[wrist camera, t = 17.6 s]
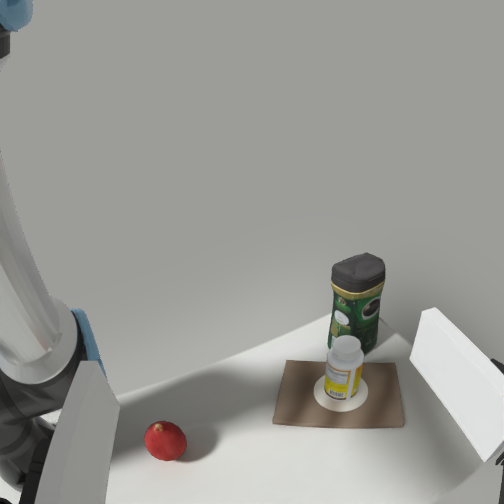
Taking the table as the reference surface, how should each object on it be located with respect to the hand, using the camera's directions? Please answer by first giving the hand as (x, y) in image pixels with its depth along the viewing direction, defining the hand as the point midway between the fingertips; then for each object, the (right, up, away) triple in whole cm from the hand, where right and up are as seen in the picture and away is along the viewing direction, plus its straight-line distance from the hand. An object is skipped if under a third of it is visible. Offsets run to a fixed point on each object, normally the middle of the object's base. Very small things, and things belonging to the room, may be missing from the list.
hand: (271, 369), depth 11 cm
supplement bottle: (+13, -18, +34) cm, 41 cm away
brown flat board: (+14, -19, +34) cm, 42 cm away
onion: (-12, -25, +26) cm, 38 cm away
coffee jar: (+19, -14, +46) cm, 51 cm away
